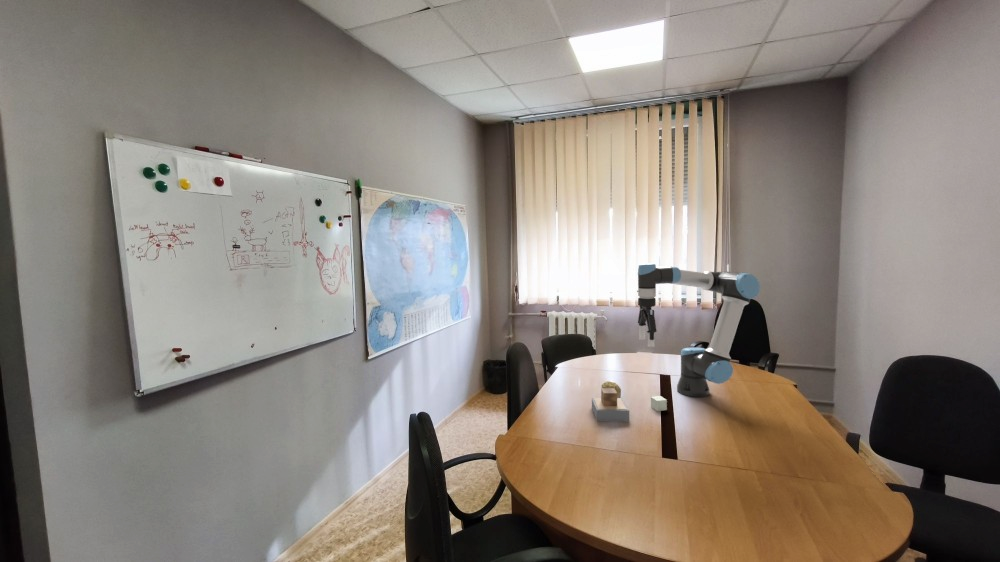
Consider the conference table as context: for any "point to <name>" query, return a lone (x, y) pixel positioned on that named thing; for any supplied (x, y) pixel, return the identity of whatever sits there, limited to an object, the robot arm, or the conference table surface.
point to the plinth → (610, 411)
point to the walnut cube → (609, 396)
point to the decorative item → (612, 385)
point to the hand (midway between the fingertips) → (646, 342)
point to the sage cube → (658, 403)
